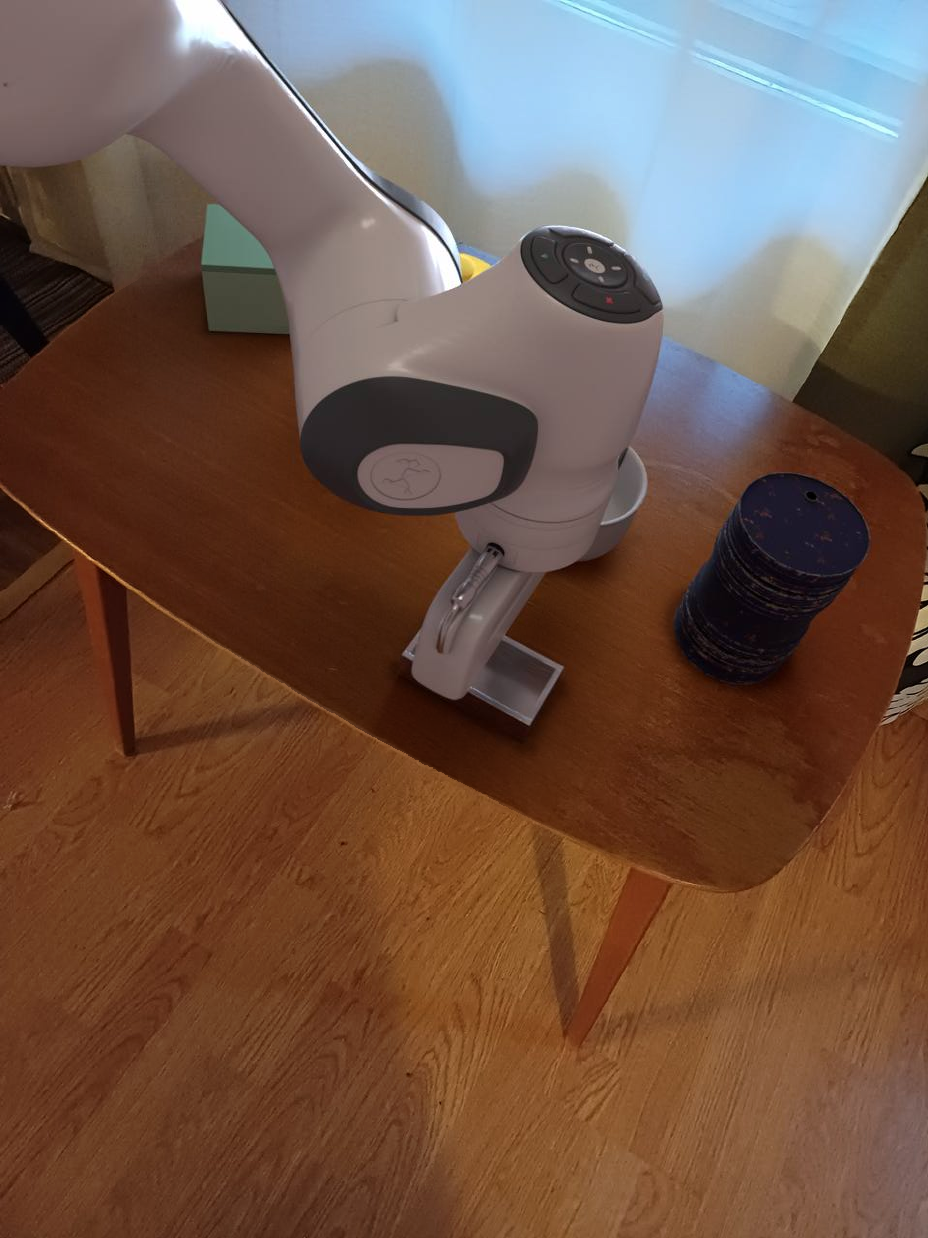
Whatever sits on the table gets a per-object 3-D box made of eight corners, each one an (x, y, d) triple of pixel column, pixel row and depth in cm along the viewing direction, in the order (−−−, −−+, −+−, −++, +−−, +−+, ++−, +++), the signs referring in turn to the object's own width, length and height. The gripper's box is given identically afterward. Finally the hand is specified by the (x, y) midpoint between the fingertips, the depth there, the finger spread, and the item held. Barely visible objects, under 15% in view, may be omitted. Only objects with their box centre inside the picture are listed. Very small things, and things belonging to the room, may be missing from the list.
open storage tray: (398, 674, 72) (401, 654, 70) (436, 621, 75) (440, 600, 73) (522, 744, 70) (529, 725, 68) (556, 686, 73) (564, 667, 71)
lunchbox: (326, 276, 98) (326, 217, 93) (327, 336, 93) (328, 277, 88) (214, 270, 97) (207, 210, 91) (208, 331, 91) (201, 271, 86)
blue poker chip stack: (772, 704, 75) (861, 598, 63) (658, 657, 76) (723, 543, 64) (794, 615, 81) (880, 501, 68) (688, 572, 82) (753, 452, 70)
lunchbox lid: (333, 218, 93) (333, 211, 92) (334, 278, 88) (334, 271, 87) (207, 209, 91) (206, 203, 90) (201, 270, 86) (200, 264, 85)
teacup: (638, 515, 85) (665, 453, 78) (599, 599, 79) (624, 540, 72) (501, 456, 87) (516, 391, 80) (452, 533, 81) (464, 470, 74)
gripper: (496, 645, 49) (464, 759, 60) (643, 422, 60) (592, 553, 71) (394, 590, 50) (381, 712, 61) (556, 381, 61) (520, 517, 72)
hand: (495, 625), depth 66 cm, fingers open, 8 cm apart
